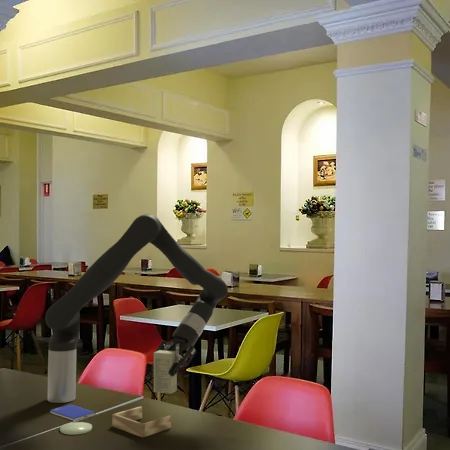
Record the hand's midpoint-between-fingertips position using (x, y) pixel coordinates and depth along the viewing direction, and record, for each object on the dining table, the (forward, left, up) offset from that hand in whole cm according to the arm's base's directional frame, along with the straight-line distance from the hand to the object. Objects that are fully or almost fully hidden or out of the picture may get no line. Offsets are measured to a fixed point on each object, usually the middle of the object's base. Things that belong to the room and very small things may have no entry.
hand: (161, 372), depth 171 cm
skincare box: (-1, +1, -6) cm, 6 cm away
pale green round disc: (+5, -25, -15) cm, 29 cm away
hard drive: (-10, -27, -15) cm, 33 cm away
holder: (+5, -6, -15) cm, 16 cm away
